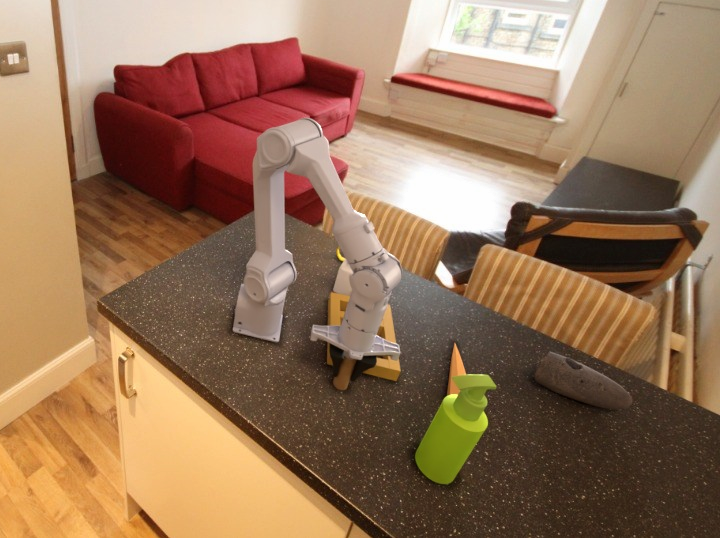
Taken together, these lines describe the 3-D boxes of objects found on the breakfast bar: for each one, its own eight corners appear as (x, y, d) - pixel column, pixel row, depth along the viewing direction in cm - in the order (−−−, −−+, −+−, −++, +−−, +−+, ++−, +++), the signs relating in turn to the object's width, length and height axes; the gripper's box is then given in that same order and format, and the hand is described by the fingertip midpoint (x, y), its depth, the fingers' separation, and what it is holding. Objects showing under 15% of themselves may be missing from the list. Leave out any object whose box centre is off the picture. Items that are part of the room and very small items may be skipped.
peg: (332, 388, 81) (342, 357, 77) (332, 376, 83) (342, 346, 79) (347, 391, 80) (358, 361, 76) (347, 380, 83) (357, 350, 79)
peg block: (327, 364, 85) (330, 354, 84) (328, 301, 101) (330, 291, 100) (396, 381, 83) (400, 371, 82) (386, 314, 99) (390, 304, 97)
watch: (333, 260, 115) (338, 241, 112) (336, 254, 117) (341, 236, 114) (356, 268, 112) (362, 249, 109) (359, 263, 114) (365, 244, 111)
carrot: (463, 428, 76) (483, 415, 74) (440, 410, 77) (459, 397, 75) (456, 354, 93) (472, 342, 91) (437, 341, 94) (453, 328, 92)
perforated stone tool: (619, 404, 82) (640, 380, 79) (625, 427, 78) (647, 402, 75) (526, 366, 89) (541, 342, 85) (527, 385, 85) (543, 360, 81)
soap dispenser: (402, 447, 72) (444, 362, 62) (442, 445, 73) (490, 361, 63) (420, 485, 67) (469, 399, 57) (462, 483, 68) (518, 398, 58)
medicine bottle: (370, 288, 106) (384, 247, 100) (362, 304, 101) (376, 262, 95) (341, 276, 109) (353, 235, 103) (332, 291, 104) (344, 250, 98)
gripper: (316, 326, 71) (301, 382, 78) (411, 348, 69) (387, 404, 76) (318, 297, 77) (303, 351, 84) (405, 317, 75) (383, 371, 82)
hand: (343, 374), depth 80 cm, fingers closed on peg, 2 cm apart
